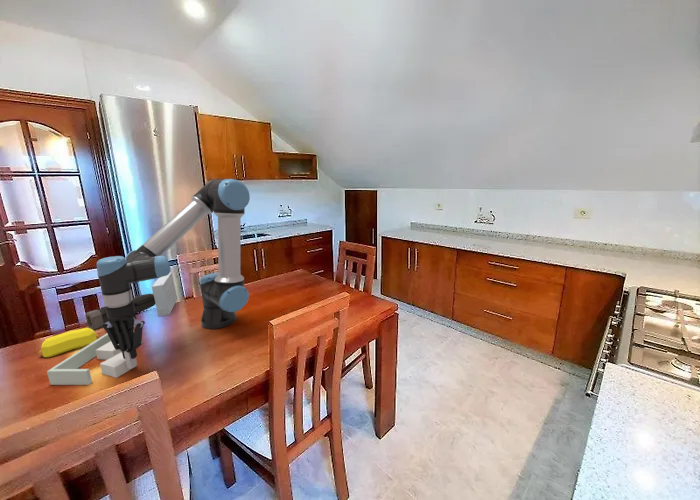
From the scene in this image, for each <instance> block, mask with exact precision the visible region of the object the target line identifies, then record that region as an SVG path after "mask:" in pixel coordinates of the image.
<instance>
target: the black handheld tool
mask: <svg viewBox="0 0 700 500" xmlns="http://www.w3.org/2000/svg"><path fill="white" fill-rule="evenodd" d="M132 301H133V302H134V307H135V313H134V314H135V315H136V314H138V313H140V312H143V311H146V310H148V309H151V308H152V307H154V306H156V303H155V299H154V294H153V293H144V294H140V295H138V296H135V297H134V296H133V300H132ZM105 307H106V306H105V305H104V306H102V307H101V306H100V308H99V309H94V310H90V311H87V312H86V313H85V319H86V324H87V327H88V328H90V329H93V330H94V331H95V330H98V329H101V328H103V327H102V325H103V324H105V323H106V322H108V319H109V318H108V317H107V314H106V310H105Z"/></svg>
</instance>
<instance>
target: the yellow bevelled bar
mask: <svg viewBox="0 0 700 500" xmlns="http://www.w3.org/2000/svg"><path fill="white" fill-rule="evenodd" d="M99 338H100V334H98V333H96V331H95V330H93V329H90V328H89V327H88V326H87V327H84V328H83V327H82V328H80V329H79V328H78V329H73V330H69V331H65V332H62V333H59V334H56V335H53V336H50V337H48V338H45V340H44V341H43V342H42V344H41V349H40V350H38V353H37V355H39V356H41V357H43V358H53V357H54V356H58V355H60V354H63V353H66V352H69V351H72V350H76V349H82V348H84V347H86V346H88V345H89V344H91V343H92V342H94V341H95V340H97V339H99Z"/></svg>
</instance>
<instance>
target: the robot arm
mask: <svg viewBox="0 0 700 500" xmlns="http://www.w3.org/2000/svg"><path fill="white" fill-rule="evenodd" d="M250 197H251V195H250V192H249V189H248V187H247V186H246V185H245V184H244V182H242V181H240V180H238V179H232V178H225V179H224V178H223V179H222V178H221V179H220V178H218V179H213V180H210V181H208V182H207V183H206V184H205V185H204V186H203V187H201V188H200V189H199V190H198V191H197V192H196V193H195V194H194V195H192V196H191V201H189V202H188V204H186V205H185V206H184V207H183V208H182V209H181V210H180V211H178V212H177V213H175V215H174V216H173V217H172V218H170V220H169V221H168V222H166V223H165V224H164V225H163V226H161V228H160V229H158V230H157V231H156V232H155V233H154V234H152V236H150V238H148V239H147V240H146V241H145V242H144V243H143V244H141V245H140V246H139V247H138V248H137V249H134V250H131V251H129V252H128V253H127V254H126V255H125V257H124V256H122V255H115V256H108V257H103V258H101V259H98V260H97V262H96V269H97V276H98V277H97V278H98V281H99V286H100V290H101V296H102V299H103V305H104V306H105V310H106V314H107V317H108V318H109V319H108V322H106V323H105V324H103V325H102V327H101V328H103V329H104V331H106V332H105V333H106V334H108V336H109V338H110V340H111V342H112V344H113V346H114V348H115V349H116V350H118V349H119V350H121V351H122V354H123V358H124V359H125V360H126V365H127V369H131V370H132V369H134V368H135V367H134V366H135V365H136V364H137V365H138V361H137V356H138V353H137V349H139V347H141V346H142V344H141V342H142V341H143V329H144V326H145V323H146V322H145V320H138V318H137V315H136V314H134V313H135V307H134V302H133V301H132V300H133V298H134V296H133V293H132V287H131V284H135V283H140V282H144V281H150V280H153V279H154V280H155V279H158V278H160V277H163V276H167V275H168V274H169V273H170V272H171V265H170V263H169V260H168V257H167V256H165V253H166V252H168V251H169V249H171V248H172V247H173V246H174V245H175V244H176V243H177V242H179V240H181V238H183V237H184V236H185V235H186V234H187V233H188V232H189V231H190V230H192V229H193V228H194V226H195V225H197V224H198V223H199V222H200V221H202V220H203V218H204V217H206V215H211V214H213V213H214V215H216V217H217V246H218V247H217V248H218V249H217V253H218V255H217V261H218V267H217V270H218V272H213V273H208V274H204V275H203V276H201V277H200V279H199V287H200V293H201V300H202V305H203V309H202V315H201V319H200V324H201V327H202V328H203V329H208V330H209V329H210V330H216V329H222V328H225V327H228V326H230V325H232V324H234V323H235V322H236V321H237V319H238V318H237V317H238V316H237V313H236V312H238V311H241V309H243V308H244V307H245V306H246V305H247V303H248V301H249V298H250V292H249V291H248V289H247V288H246V287H245V277H244V275H242V274H241V234H242V233H241V230H242V229H241V228H242V227H241V223H242V221H241V220H242V219H241V218H242V217H243V216H244V215H245V213H246V212H245V209H246V207H247V205H248V204H249V203H250V199H251V198H250ZM118 344H119V345H118ZM133 367H134V368H133Z"/></svg>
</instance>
